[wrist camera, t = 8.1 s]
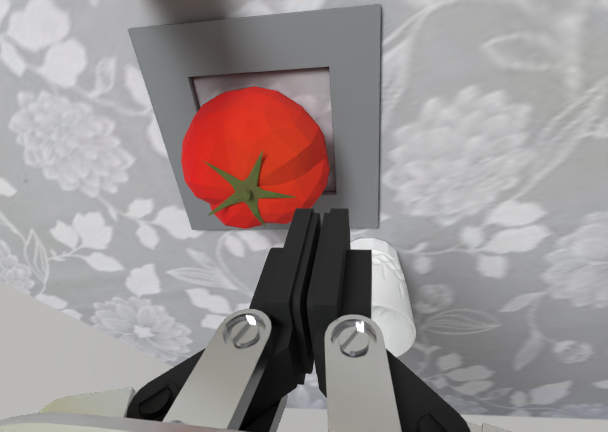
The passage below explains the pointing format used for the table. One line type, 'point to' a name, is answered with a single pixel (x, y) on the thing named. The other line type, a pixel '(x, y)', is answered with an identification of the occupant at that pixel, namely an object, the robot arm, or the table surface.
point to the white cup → (389, 296)
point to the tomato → (254, 157)
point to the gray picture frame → (269, 57)
